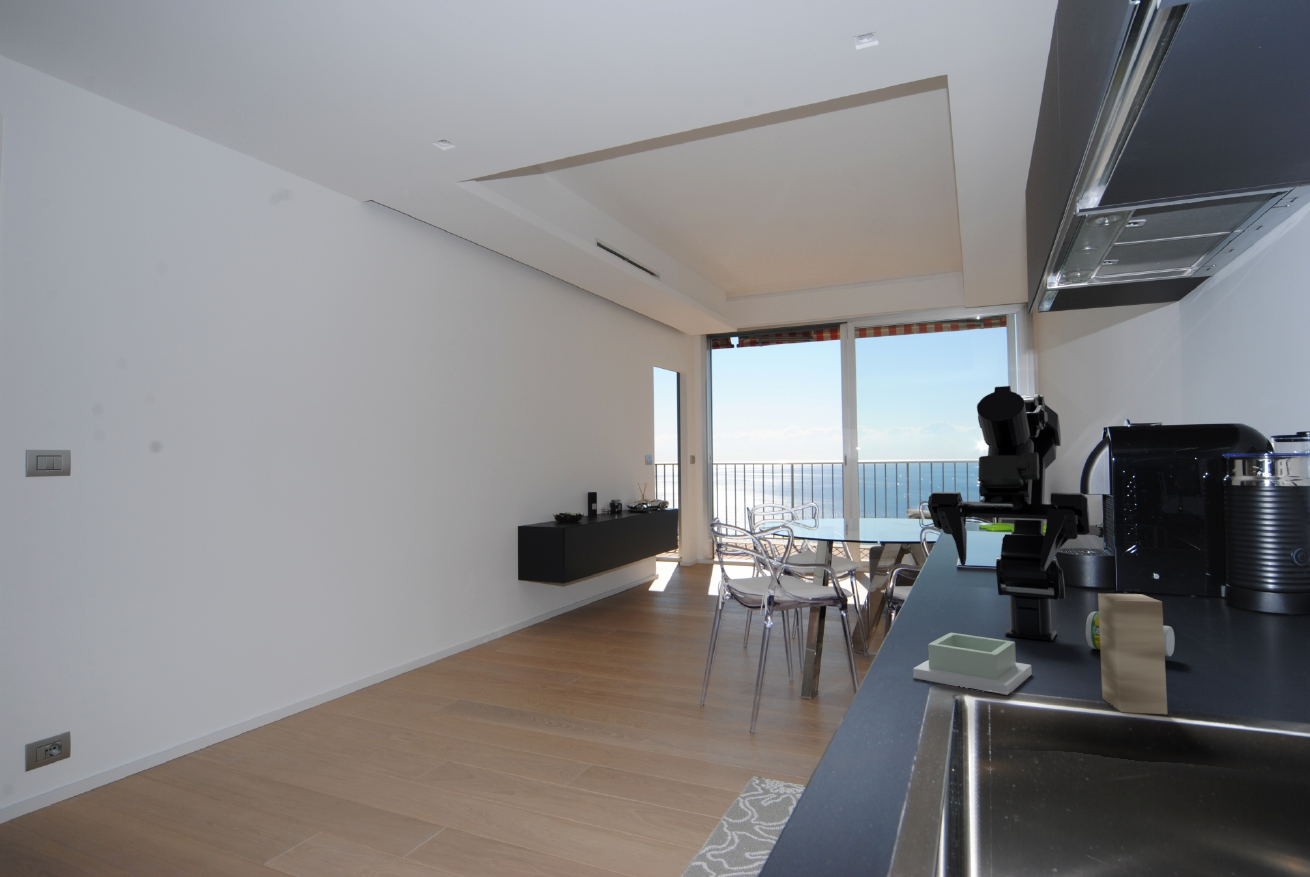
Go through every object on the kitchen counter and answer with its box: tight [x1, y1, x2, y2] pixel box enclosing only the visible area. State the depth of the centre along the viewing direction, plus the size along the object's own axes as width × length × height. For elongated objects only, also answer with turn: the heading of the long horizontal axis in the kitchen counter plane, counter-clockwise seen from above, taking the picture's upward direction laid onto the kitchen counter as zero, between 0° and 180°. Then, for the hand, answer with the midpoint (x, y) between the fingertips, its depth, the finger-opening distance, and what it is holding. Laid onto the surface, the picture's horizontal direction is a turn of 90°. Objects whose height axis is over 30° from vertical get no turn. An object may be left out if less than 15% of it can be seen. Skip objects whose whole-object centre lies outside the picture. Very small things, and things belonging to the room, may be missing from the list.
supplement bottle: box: [1085, 611, 1176, 657], centre depth 97 cm, size 5×5×10 cm
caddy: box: [912, 632, 1033, 693], centre depth 88 cm, size 11×11×4 cm
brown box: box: [1097, 592, 1168, 715], centre depth 77 cm, size 4×4×12 cm
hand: (1001, 566), depth 87 cm, fingers open, 9 cm apart
